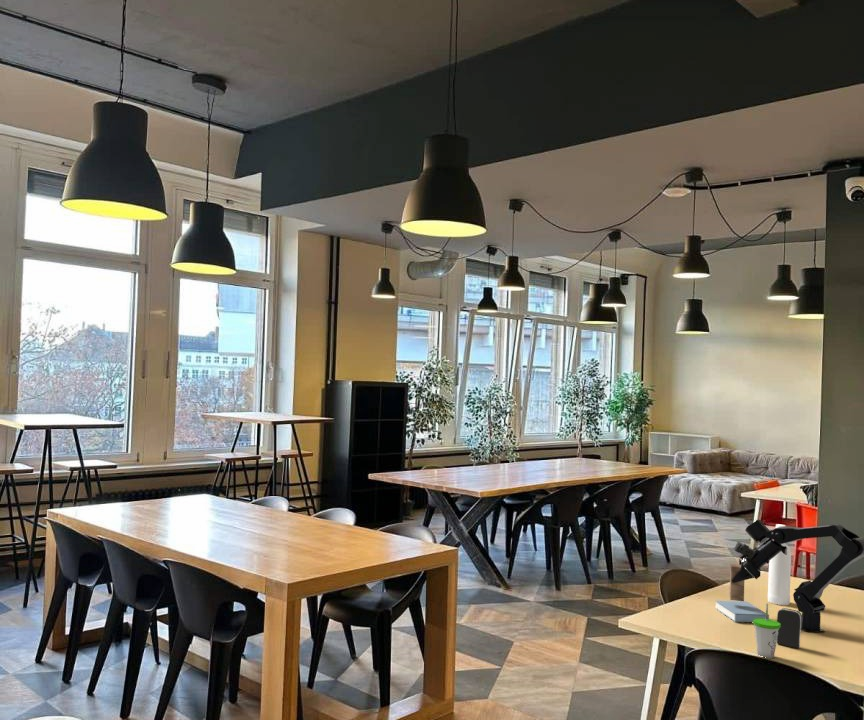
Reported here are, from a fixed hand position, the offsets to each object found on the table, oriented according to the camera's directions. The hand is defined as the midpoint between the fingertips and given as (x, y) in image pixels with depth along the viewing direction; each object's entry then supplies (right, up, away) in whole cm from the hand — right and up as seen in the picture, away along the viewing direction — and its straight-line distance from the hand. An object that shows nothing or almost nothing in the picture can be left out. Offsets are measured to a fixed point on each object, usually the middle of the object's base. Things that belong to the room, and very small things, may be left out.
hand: (731, 580), depth 282 cm
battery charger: (+5, -11, -35) cm, 37 cm away
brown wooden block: (+1, -7, -1) cm, 7 cm away
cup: (-8, -10, -46) cm, 48 cm away
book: (+2, -12, -3) cm, 13 cm away
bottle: (+25, -14, +18) cm, 34 cm away
